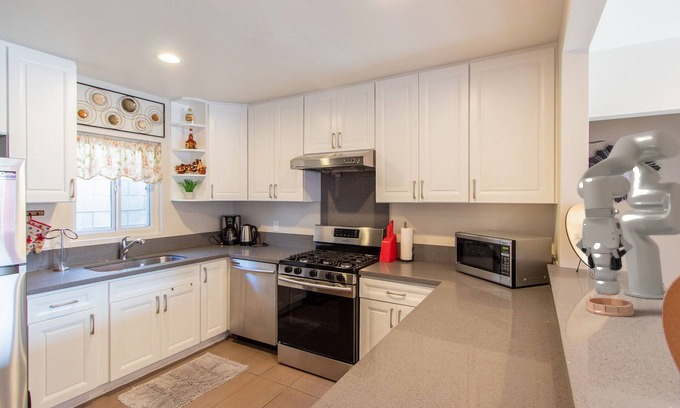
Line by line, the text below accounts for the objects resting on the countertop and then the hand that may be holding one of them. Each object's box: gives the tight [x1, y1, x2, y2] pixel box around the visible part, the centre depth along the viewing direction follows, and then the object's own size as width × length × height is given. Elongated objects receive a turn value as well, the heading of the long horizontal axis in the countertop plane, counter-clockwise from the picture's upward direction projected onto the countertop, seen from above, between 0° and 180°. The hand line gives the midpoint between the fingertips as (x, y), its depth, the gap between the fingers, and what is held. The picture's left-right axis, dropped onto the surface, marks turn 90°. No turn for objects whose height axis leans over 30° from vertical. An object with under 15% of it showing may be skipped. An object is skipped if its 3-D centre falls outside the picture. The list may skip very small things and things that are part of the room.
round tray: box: [585, 296, 635, 318], centre depth 106 cm, size 12×12×3 cm
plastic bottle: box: [590, 244, 621, 297], centre depth 106 cm, size 6×7×20 cm
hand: (604, 268), depth 106 cm, fingers closed on plastic bottle, 6 cm apart
